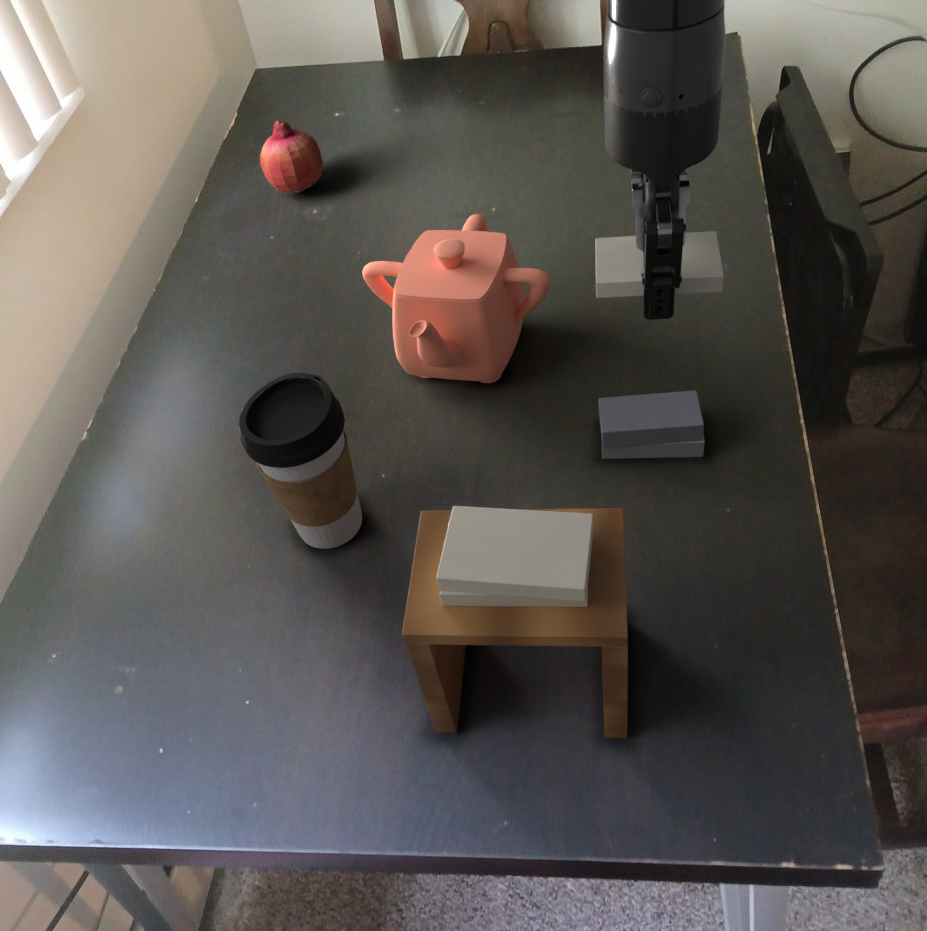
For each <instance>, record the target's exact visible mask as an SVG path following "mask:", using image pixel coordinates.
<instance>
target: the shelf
mask: <svg viewBox="0 0 927 931" xmlns="http://www.w3.org/2000/svg"><path fill="white" fill-rule="evenodd" d="M518 510H536V511H553V512H571V513H588V514H593V519H594V530H593V539H592V549H591V558H590V568H589V577H588V606H587V607H522V606H443V605H442V601H441V598H440V590H439V587H438V583H437V579H436V576H437V572H438V568H439V564H440V559H441V555H442V551H443V547H444V542H445V538H446V534H447V530H448V523H449V521H450V517H451V513H452V509H450V510H448V509H446V510H445V509H444V510H442V509H440V510H439V509H438V510H437V509H436V510H421V511H420V512H419V513H420V514H419V520H418V527H417V533H416V540H415V546H414V552H413V558H412V559H413V560H412V565H411V573H410V578H409V585H408V592H407V597H406V598H407V599H406V604H405V605H406V606H405V612H404V617H403V624H402V631H401V637H402V639H403V642H404V645H405V647H406V651H407V653H408V656H409V660H410V663H411V665H412V668H413V671H414V674H415V676H416V679H417V682H418V685H419V688H420V690H421V694H422V696H423V699H424V703H425V705H426V708H427V711H428V714H429V717H430V720H431V722H432V725H433V728H434V731H435V733H437V734H458V725H459V716H460V706H461V697H462V696H461V695H462V686H463V676H464V666H465V656H466V647H467V646H513V647H515V646H520V647H521V646H524V647H526V646H528V647H530V646H531V647H533V646H534V647H597V648H598V647H599V648H600V647H601V668H602V696H603V698H602V699H603V724H604V725H603V726H604V727H603V728H604V738H606V739H628V710H629V709H628V706H629V704H628V702H629V701H628V696H629V694H628V693H629V692H628V690H629V689H628V688H629V687H628V686H629V681H628V680H629V660H628V659H629V653H628V652H629V627H628V626H629V625H628V601H627V600H628V598H627V594H628V593H627V568H626V567H627V566H626V539H625V538H626V537H625V536H626V535H625V509H624V508H622V507H619V508H618V507H613V508H611V507H609V508H608V507H606V508H604V507H603V508H533V509H532V508H531V509H530V508H529V509H528V508H527V509H522V508H521V509H520V508H519V509H518Z"/></svg>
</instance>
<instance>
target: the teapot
mask: <svg viewBox="0 0 927 931" xmlns="http://www.w3.org/2000/svg"><path fill="white" fill-rule="evenodd" d="M487 222H488V221H487V219H486V216H484V215H483V214H481V213H473V214H471V215H470V216H469V217H467V219H466V221H465V222H464V225H463V227H462V229H426V230H425V231H423V232H422V233H421V234H419V236H418V238H417V239H416V240H415V242H413V244H412V246H411V248H410V250H409V251H408V252H407V254H406V256H405V258H404V260H403V262H400V261H399V262H398V261H391V260H390V261H388V260H376V261H371V262H368V263H367V264H366V265H364V267H363V269H362V271H361V272H362V279H363V280H364V282H365V283H366V285H367V286H368V288H369V289H370V290H371V291H372V292H373V294H375V295H376V296H377V297H378V298H379V299H381V300H382V301H383V302H384V303H385V304H387V306H389V307H390V308H391V309H392V313H391V314H392V316H391V317H392V319H391V320H392V337H393V338H392V339H393V346H394V352H395V356H396V359H397V361H398V363H399V364H400V366H401V367H402V369H403V370H404V371H405V372H406V373H407V375H412V376H416V377H421V378H422V379H423V378H424V379H431V378H432V379H442V380H453V381H467V382H469V381H471V382H480V383H483V384H493V383H495V382H497V381H498V380H499V379H500V378H501V377H502V374H503V372H504V370H506V367H507V365H508V363H509V361H510V359H511V357H512V356H513V353H514V351H515V349H516V346H517V344H518V341H519V339H520V338H519V337H520V336H521V331H522V327H523V322H524V318H526V316H529V314H530V313H532V312H533V311H534V310H535V309H536V308H537V307H538V306H539V305H540V304H541V303H542V302H543V301H544V300H545V299H546V297H547V295H548V294H549V292H550V289H551V286H552V285H551V284H552V279H551V276H550V275H549V274H548V273H547V272H546V271H544V270H543V269H539V268H533V267H520V265H519V262H518V258H517V256H516V253H515V251H514V248H513V246H512V243H511V241H510V239H509V236H508V234H506V233H504V232H497V231H495V232H494V231H488V223H487ZM385 276H386V277H387V276H388V277H396V279H395V283H394V285H393V287H392V286H391V285H390V284H389V282H388V281H387V279H385ZM524 284H526V285H529V287H530V289H529V291H528V294H527V295H526V291H525V286H524Z"/></svg>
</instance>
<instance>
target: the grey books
mask: <svg viewBox="0 0 927 931" xmlns="http://www.w3.org/2000/svg"><path fill="white" fill-rule="evenodd" d="M597 402H598V403H597V404H598V405H597V406H598V419H599V428H600V435H601V458H602V460H618V459H620V460H621V459H625V460H626V459H667V458H668V459H670V458H672V459H673V458H674V459H675V458H703V457H704V454H705V452H704V451H705V444H706V443H705V434H704V432H705V431H704V430H705V423H704V418H703V414H702V408H701V405H700V400H699V395H698V391H697V390H683V391H671V392H659V393H647V394H645V393H644V394H634V395H633V394H632V395H619V396H609V397H608V396H607V397H606V396H605V397H599V398H598V400H597Z"/></svg>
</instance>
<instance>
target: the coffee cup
mask: <svg viewBox="0 0 927 931" xmlns="http://www.w3.org/2000/svg"><path fill="white" fill-rule="evenodd" d="M345 422H346V420H345V412H344V410H343V407H342V405H341V403H340V401H339V400H338V398H337V397H336V396H335V394H334V393H333V390H332V389H331V387H330V386H329V384H328V383H327V381H326V380H325V379H324V378H323V377H322V376H320V375H318V374H313V373H307V372H293V373H287V374H283V375H280V376H278V377H277V378H274V379H272V380H270V381H269V382H268V383H266V384H264V385H263V386H261V387H260V388H259V389H258V390H257V391H255V392H254V394H253V395H251V396H250V398H249V399H248V400H247V401H246V402H245V404H244V406H243V408H242V409H241V412H240V414H239V418H238V426H239V431H240V442H241V445H242V447H243V449H244V451H245V453H246V454H247V456H248V458H250V459H252V460H253V461H254V462H255V464H256V466H257V469H258V471H259V472H260V474H261V476H262V477H263V479H264V480H265V482H266V483H267V485H268V486H269V489H270V490H271V491H272V493H273V494H274V496H275V498H276V499H277V501H278V503H279V504H280V506H281V507H282V509H283V511H284V512H285V514H286V515H287V517H288V518H289V520H290V521H291V523H292V525H293V526H294V528H295V530H296V532H297V533H298V535H299V537H300V538H301V539H302V541H303V542H304V543H305V544H306V545H308V546H310V547H312V548H316V549H321V550H328V549H329V550H330V549H334V548H338V547H341V546H343V545H344V544H346V543H348V542H350V541H351V540H352V539H353V538H354V537H355V536H356V535H357V533H358V532H359V530H360V529H361V526H362V523H363V513H362V508H361V502H360V499H359V495H358V489H357V488H358V487H357V483H356V478H355V472H354V468H353V462H352V458H351V452H350V447H349V442H348V436H347V433H346V431H345Z"/></svg>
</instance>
